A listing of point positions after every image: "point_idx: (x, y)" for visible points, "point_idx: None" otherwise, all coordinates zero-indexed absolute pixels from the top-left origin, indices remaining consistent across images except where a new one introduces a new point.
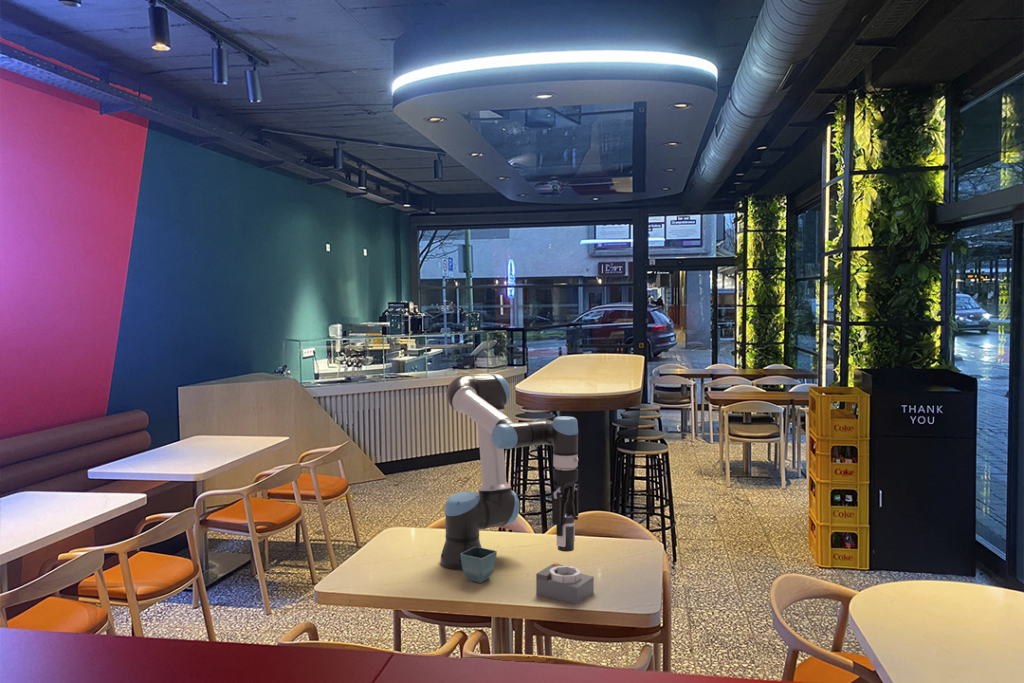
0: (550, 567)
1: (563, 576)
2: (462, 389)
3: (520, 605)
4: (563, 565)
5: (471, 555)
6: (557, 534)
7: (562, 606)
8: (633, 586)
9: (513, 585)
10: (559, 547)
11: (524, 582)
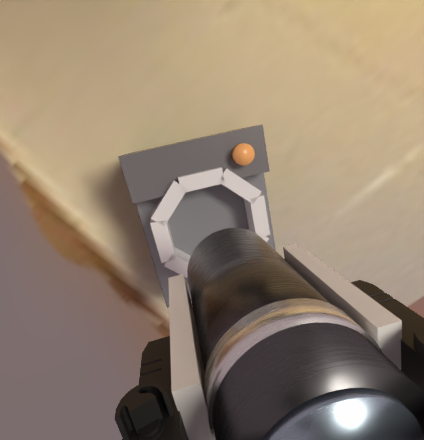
0: (213, 149)
1: (167, 260)
2: None
3: (27, 179)
4: (265, 171)
5: None
6: (146, 357)
7: (128, 265)
8: None
9: (124, 30)
10: (188, 274)
11: (175, 42)
